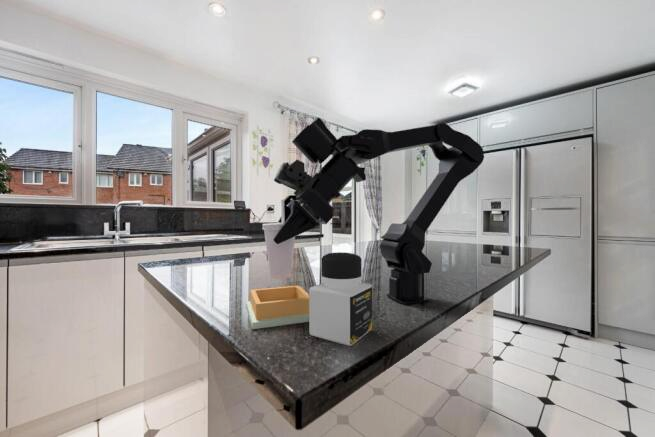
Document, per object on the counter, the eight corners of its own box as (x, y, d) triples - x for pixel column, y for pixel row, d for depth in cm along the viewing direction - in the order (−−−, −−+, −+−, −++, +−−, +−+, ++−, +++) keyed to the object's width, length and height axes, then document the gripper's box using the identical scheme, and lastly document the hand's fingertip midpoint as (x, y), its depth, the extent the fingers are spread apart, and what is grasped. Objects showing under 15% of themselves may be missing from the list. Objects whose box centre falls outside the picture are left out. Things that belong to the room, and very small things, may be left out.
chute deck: (340, 296, 63) (340, 280, 63) (366, 313, 51) (366, 294, 51) (246, 306, 56) (246, 288, 56) (252, 329, 44) (252, 306, 44)
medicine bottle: (351, 347, 38) (350, 258, 38) (308, 335, 42) (308, 254, 42) (372, 329, 44) (372, 252, 44) (333, 320, 48) (333, 249, 48)
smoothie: (299, 279, 50) (299, 199, 49) (262, 281, 48) (260, 198, 48) (296, 272, 56) (295, 200, 56) (263, 273, 55) (262, 200, 54)
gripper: (290, 159, 62) (238, 210, 59) (313, 136, 44) (240, 207, 41) (325, 196, 64) (277, 247, 61) (360, 188, 47) (295, 259, 43)
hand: (272, 240), depth 52 cm, fingers closed on smoothie, 6 cm apart
